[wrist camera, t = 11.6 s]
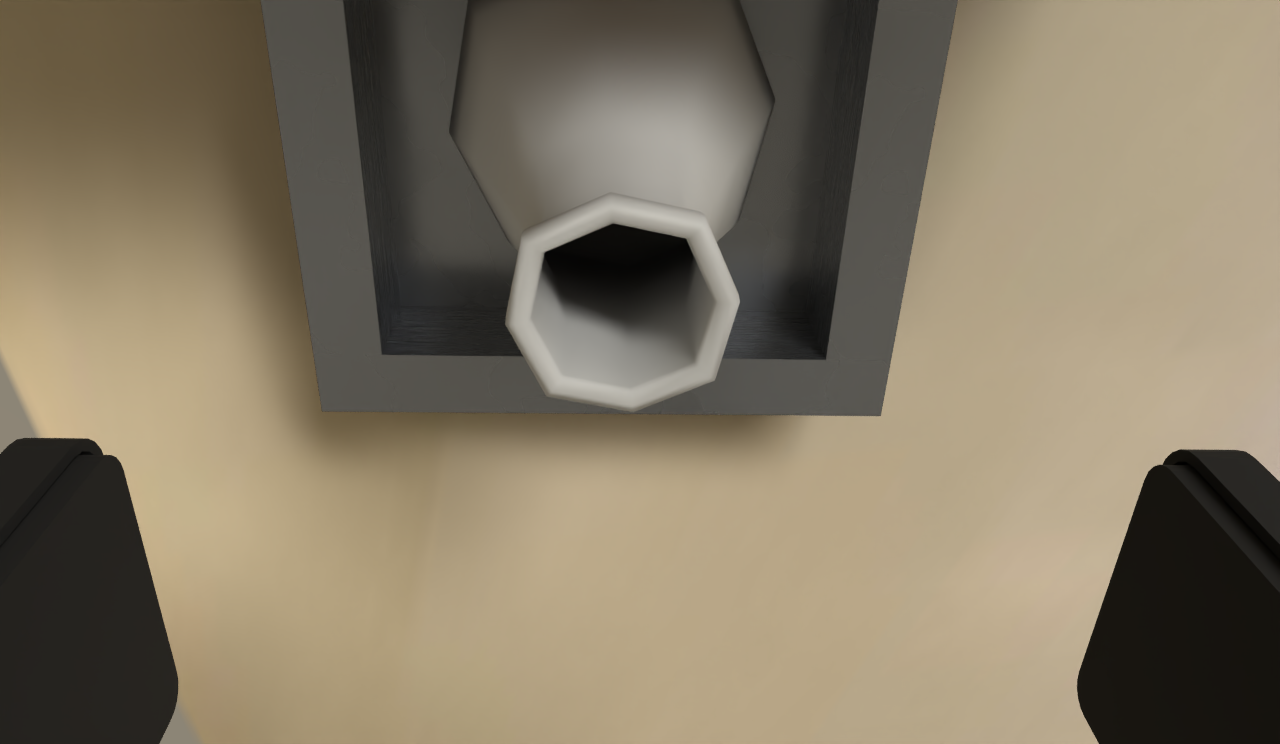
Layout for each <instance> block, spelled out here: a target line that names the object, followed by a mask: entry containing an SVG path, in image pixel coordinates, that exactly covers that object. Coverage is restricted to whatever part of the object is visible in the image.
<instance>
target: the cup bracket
mask: <svg viewBox="0 0 1280 744" xmlns="http://www.w3.org/2000/svg"><path fill="white" fill-rule="evenodd" d="M957 1H958V0H740V3H741V6H742V9H743V11H744V14H745V17H746V20H747V22H748V25H749V28H750V31H751V33H752V36H753V39H754V42H755V44H756V47H757V50H758V53H759V55H760V58H761V61H762V64H763V66H764V69H765V72H766V75H767V78H768V80H769V83H770V86H771V89H772V91H773V94H774V97H775V100H776V101H775V104H774V107H773V111H772V114H771V117H770V120H769V124H768V127H767V130H766V134H765V137H764V140H763V143H762V147H761V150H760V153H759V157H758V160H757V163H756V166H755V170H754V173H753V176H752V180H751V183H750V186H749V189H748V193H747V196H746V199H745V203H744V206H743V209H742V212H741V216H740V219H739V221H738V222H737V223H736V224H735V226H734V227H733V228H732V229H731V230H729V231H728V232H727V233H726V234H725V235H724V236H723V237H722V238H721V239H719V240H718V241H717V244H718V247H719V249H720V251H721V254H722V256H723V259H724V261H725V263H726V266H727V268H728V270H729V273H730V275H731V277H732V280H733V282H734V284H735V287H736V289H737V291H738V294H739V299H740V303H739V307H738V310H737V313H736V316H735V319H734V322H733V325H732V328H731V332H730V335H729V338H728V341H727V344H726V347H725V350H724V354H723V357H722V360H721V363H720V366H719V369H718V372H717V376H716V379H715V381H712V382H710V383H707V384H705V385H702V386H699V387H697V388H694V389H692V390H689V391H687V392H684V393H681V394H679V395H676V396H674V397H671V398H669V399H666V400H663V401H661V402H658V403H656V404H653V405H651V406H648V407H645V408H643V409H640V410H638V411H635V412H629V411H623V410H618V409H612V408H607V407H601V406H596V405H590V404H585V403H579V402H574V401H568V400H563V399H557V398H552V397H546V395H545V393H544V391H543V390H542V388H541V386H540V384H539V383H538V381H537V379H536V377H535V376H534V374H533V372H532V370H531V369H530V367H529V365H528V363H527V362H526V360H525V358H524V356H523V355H522V353H521V351H520V349H519V348H518V346H517V344H516V342H515V341H514V339H513V337H512V335H511V334H510V332H509V330H508V328H507V327H506V325H505V320H506V313H507V307H508V302H509V297H510V292H511V286H512V281H513V276H514V271H515V265H516V260H517V255H518V250H516V249H515V248H514V247H513V246H512V245H511V244H510V243H509V242H508V240H507V239H506V237H505V235H504V233H503V231H502V229H501V227H500V226H499V224H498V222H497V220H496V218H495V216H494V215H493V213H492V211H491V209H490V207H489V205H488V204H487V202H486V200H485V198H484V196H483V194H482V192H481V191H480V189H479V187H478V185H477V183H476V181H475V180H474V178H473V176H472V174H471V172H470V170H469V169H468V167H467V165H466V163H465V161H464V159H463V157H462V156H461V154H460V152H459V150H458V148H457V146H456V145H455V143H454V141H453V139H452V137H451V135H450V134H449V127H450V120H451V113H452V106H453V99H454V93H455V86H456V79H457V72H458V65H459V58H460V51H461V44H462V37H463V30H464V23H465V16H466V9H467V2H468V0H261V6H262V13H263V20H264V26H265V33H266V40H267V47H268V53H269V60H270V67H271V73H272V80H273V87H274V93H275V100H276V107H277V113H278V120H279V127H280V134H281V140H282V147H283V154H284V160H285V167H286V174H287V180H288V187H289V194H290V201H291V207H292V214H293V221H294V227H295V234H296V241H297V247H298V254H299V261H300V267H301V274H302V281H303V288H304V294H305V301H306V308H307V314H308V321H309V328H310V334H311V341H312V348H313V354H314V361H315V368H316V375H317V381H318V388H319V395H320V401H321V408H322V411H334V412H456V413H577V414H698V415H820V416H881V411H882V406H883V401H884V395H885V390H886V384H887V379H888V374H889V368H890V363H891V357H892V352H893V347H894V341H895V336H896V330H897V325H898V320H899V314H900V309H901V303H902V298H903V293H904V287H905V282H906V276H907V271H908V266H909V260H910V255H911V249H912V244H913V239H914V233H915V228H916V222H917V217H918V212H919V206H920V201H921V195H922V190H923V185H924V179H925V174H926V168H927V163H928V158H929V152H930V147H931V141H932V136H933V131H934V125H935V120H936V114H937V109H938V104H939V98H940V93H941V87H942V82H943V77H944V71H945V66H946V60H947V55H948V50H949V44H950V39H951V33H952V28H953V23H954V17H955V12H956V6H957Z"/></svg>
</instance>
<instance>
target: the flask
mask: <svg viewBox="0 0 1280 744" xmlns="http://www.w3.org/2000/svg"><path fill="white" fill-rule="evenodd" d="M775 101H776V100H775V97H774V94H773V91H772V89H771V86H770V83H769V80H768V78H767V75H766V72H765V69H764V66H763V64H762V61H761V58H760V55H759V53H758V50H757V47H756V44H755V42H754V39H753V36H752V33H751V31H750V28H749V25H748V22H747V20H746V17H745V14H744V11H743V9H742V6H741V3H740V0H468V2H467V9H466V16H465V23H464V30H463V37H462V44H461V51H460V58H459V65H458V72H457V79H456V86H455V93H454V99H453V106H452V113H451V120H450V127H449V134H450V135H451V137H452V139H453V141H454V143H455V145H456V146H457V148H458V150H459V152H460V154H461V156H462V157H463V159H464V161H465V163H466V165H467V167H468V169H469V170H470V172H471V174H472V176H473V178H474V180H475V181H476V183H477V185H478V187H479V189H480V191H481V192H482V194H483V196H484V198H485V200H486V202H487V204H488V205H489V207H490V209H491V211H492V213H493V215H494V216H495V218H496V220H497V222H498V224H499V226H500V227H501V229H502V231H503V233H504V235H505V237H506V239H507V240H508V242H509V243H510V244H511V245H512V246H513V247H514V248H515V249H516V250H518V255H517V260H516V265H515V271H514V276H513V281H512V286H511V292H510V297H509V302H508V307H507V313H506V320H505V325H506V327H507V328H508V330H509V332H510V334H511V335H512V337H513V339H514V341H515V342H516V344H517V346H518V348H519V349H520V351H521V353H522V355H523V356H524V358H525V360H526V362H527V363H528V365H529V367H530V369H531V370H532V372H533V374H534V376H535V377H536V379H537V381H538V383H539V384H540V386H541V388H542V390H543V391H544V393H545V395H546V397H552V398H557V399H563V400H568V401H574V402H579V403H585V404H590V405H596V406H601V407H607V408H612V409H618V410H623V411H629V412H635V411H638V410H640V409H643V408H645V407H648V406H651V405H653V404H656V403H658V402H661V401H663V400H666V399H669V398H671V397H674V396H676V395H679V394H681V393H684V392H687V391H689V390H692V389H694V388H697V387H699V386H702V385H705V384H707V383H710V382H712V381H715V379H716V376H717V372H718V369H719V366H720V363H721V360H722V357H723V354H724V350H725V347H726V344H727V341H728V338H729V335H730V332H731V328H732V325H733V322H734V319H735V316H736V313H737V310H738V307H739V303H740V299H739V294H738V291H737V289H736V287H735V284H734V282H733V280H732V277H731V275H730V273H729V270H728V268H727V266H726V263H725V261H724V259H723V256H722V254H721V251H720V249H719V247H718V244H717V241H718V240H719V239H721V238H722V237H723V236H724V235H725V234H726V233H727V232H728V231H729V230H731V229H732V228H733V227H734V226H735V224H736V223H737V222H738V221H739V219H740V216H741V212H742V209H743V206H744V203H745V199H746V196H747V193H748V189H749V186H750V183H751V180H752V176H753V173H754V170H755V166H756V163H757V160H758V157H759V153H760V150H761V147H762V143H763V140H764V137H765V134H766V130H767V127H768V124H769V120H770V117H771V114H772V111H773V107H774V104H775Z"/></svg>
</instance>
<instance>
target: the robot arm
mask: <svg viewBox="0 0 1280 744" xmlns="http://www.w3.org/2000/svg"><path fill="white" fill-rule="evenodd" d="M1077 692H1078V699H1079V703H1080V707H1081V710H1082V712H1083V715H1084V717H1085V719H1086V720H1087V722H1088V724H1089V726H1090V728H1091V730H1092V732H1093V733H1094V735H1095V737H1096V739H1097V741H1098V743H1099V744H1280V482H1279V481H1278V480H1277V479H1276V478H1275V477H1274V476H1273V475H1272V474H1271V473H1270V472H1269V471H1268V470H1267V469H1266V468H1265V467H1264V466H1263V465H1262V464H1261V463H1260V462H1258V461H1257V460H1256V459H1255V458H1254V457H1253V456H1251V455H1250V454H1248V453H1247V452H1244V451H1238V450H1178V451H1175V452H1172V453H1171V454H1170V455H1169V456H1168V457H1167V458H1166V459H1165V461H1164V463H1163V465H1157V466H1155V467H1153V468H1152V469H1151V470H1150V471H1149V472H1148V474H1147V476H1146V478H1145V480H1144V483H1143V486H1142V489H1141V492H1140V495H1139V498H1138V501H1137V504H1136V506H1135V509H1134V512H1133V515H1132V518H1131V521H1130V524H1129V527H1128V530H1127V533H1126V536H1125V539H1124V542H1123V545H1122V548H1121V550H1120V553H1119V556H1118V559H1117V562H1116V565H1115V568H1114V571H1113V574H1112V577H1111V580H1110V583H1109V586H1108V589H1107V592H1106V595H1105V597H1104V600H1103V603H1102V606H1101V609H1100V612H1099V615H1098V618H1097V621H1096V624H1095V627H1094V630H1093V633H1092V636H1091V639H1090V641H1089V644H1088V647H1087V650H1086V653H1085V656H1084V659H1083V662H1082V665H1081V668H1080V671H1079V675H1078V680H1077ZM177 696H178V676H177V671H176V667H175V663H174V660H173V656H172V652H171V648H170V644H169V641H168V637H167V633H166V629H165V625H164V622H163V618H162V614H161V610H160V607H159V603H158V599H157V595H156V591H155V588H154V584H153V580H152V576H151V572H150V569H149V565H148V561H147V557H146V553H145V550H144V546H143V542H142V538H141V535H140V531H139V527H138V523H137V519H136V516H135V512H134V508H133V504H132V500H131V497H130V493H129V489H128V485H127V482H126V478H125V474H124V470H123V468H122V465H121V463H120V462H119V460H118V459H117V458H116V457H114V456H112V455H103V453H102V450H101V448H100V447H99V446H98V445H97V444H96V442H94V441H92V440H90V439H74V438H23V439H17V440H16V441H14V442H13V443H11V444H10V445H9V446H8V447H7V448H6V449H5V450H4V451H3V452H2V453H1V454H0V744H159V743H160V741H161V739H162V737H163V735H164V733H165V731H166V729H167V727H168V725H169V722H170V720H171V718H172V715H173V713H174V710H175V706H176V702H177Z"/></svg>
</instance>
